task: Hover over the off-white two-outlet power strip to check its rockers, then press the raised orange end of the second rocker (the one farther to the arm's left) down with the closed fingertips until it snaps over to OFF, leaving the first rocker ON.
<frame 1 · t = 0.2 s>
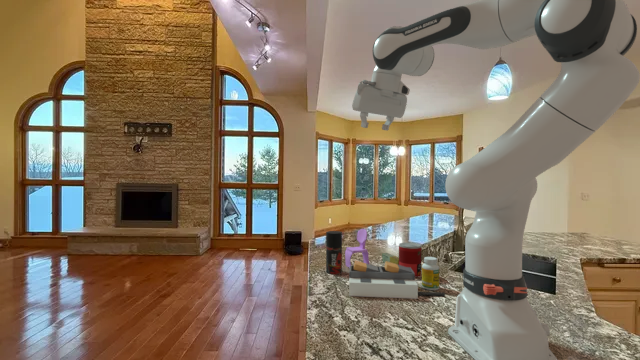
hand: (374, 128, 101), 51 cm above the worktop, tool tilted 20°, fingers open, 8 cm apart
rocker 2: (365, 271, 101), point 5 cm above the worktop, hinge at 15.0°
power strip: (381, 290, 99), on the worktop
deodorant: (334, 272, 118), on the worktop
medication box: (392, 266, 128), on the worktop
canned food: (409, 275, 115), on the worktop
toy chair: (357, 267, 125), on the worktop
supplement bottle: (430, 288, 101), on the worktop
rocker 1: (396, 272, 100), point 5 cm above the worktop, hinge at 15.0°
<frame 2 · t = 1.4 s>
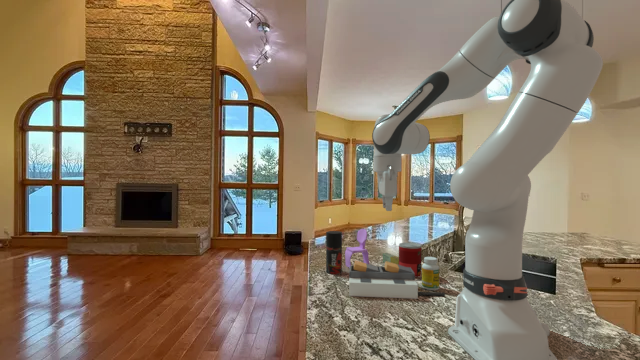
hand: (387, 209, 101), 25 cm above the worktop, tool pointing down, fingers open, 8 cm apart
nothing on the worktop moved.
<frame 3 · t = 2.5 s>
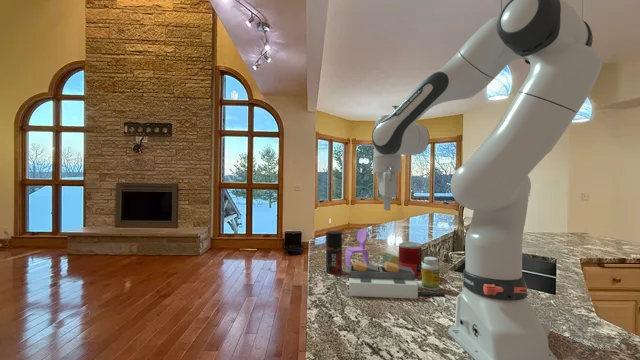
hand: (387, 210, 101), 25 cm above the worktop, tool pointing down, fingers closed
nothing on the worktop moved.
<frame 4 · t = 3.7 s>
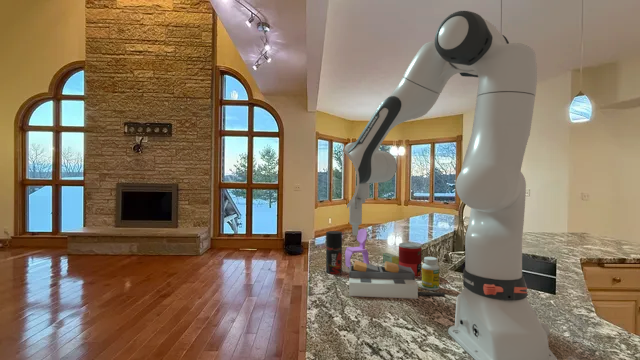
hand: (355, 234, 102), 17 cm above the worktop, tool pointing down, fingers closed
nothing on the worktop moved.
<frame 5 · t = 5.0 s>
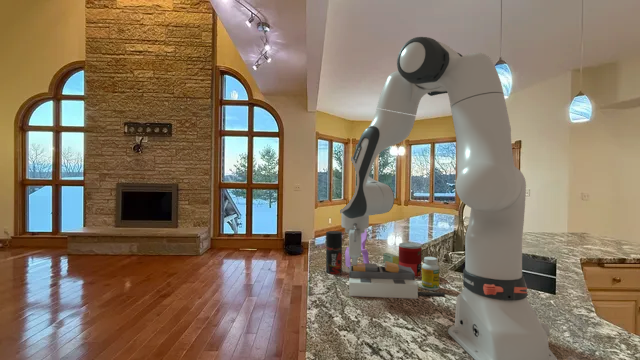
hand: (354, 264, 102), 7 cm above the worktop, tool pointing down, fingers closed
rocker 2: (365, 271, 101), point 5 cm above the worktop, hinge at 1.1°, touching gripper
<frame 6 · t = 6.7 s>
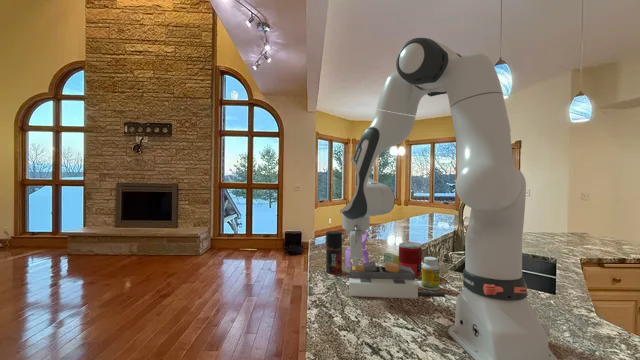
hand: (355, 265, 102), 7 cm above the worktop, tool pointing down, fingers closed
rocker 2: (365, 271, 101), point 5 cm above the worktop, hinge at -15.1°
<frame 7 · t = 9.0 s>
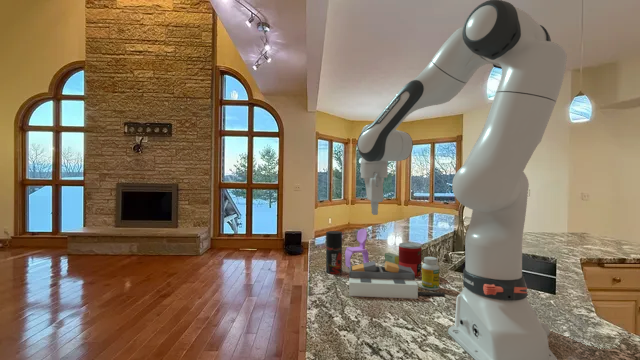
hand: (374, 214, 104), 23 cm above the worktop, tool pointing down, fingers closed
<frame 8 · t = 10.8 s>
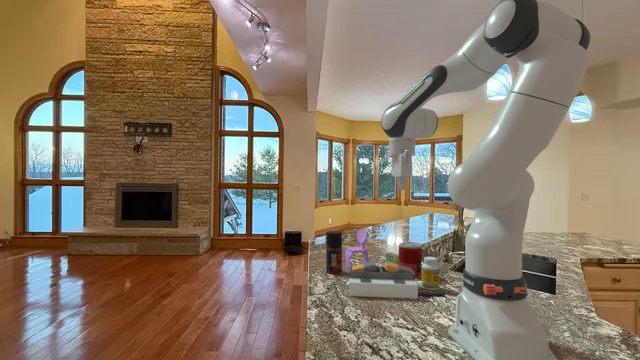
hand: (401, 190, 109), 31 cm above the worktop, tool pointing down, fingers closed
at the end: rocker 2 at -15° (first picture: +15°); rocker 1 at +15° (first picture: +15°) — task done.
